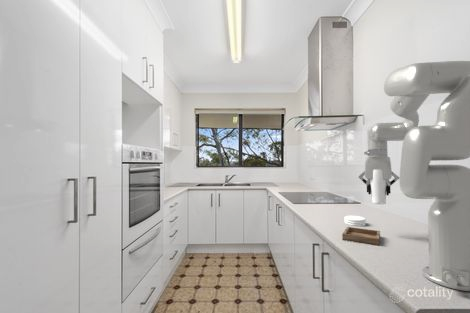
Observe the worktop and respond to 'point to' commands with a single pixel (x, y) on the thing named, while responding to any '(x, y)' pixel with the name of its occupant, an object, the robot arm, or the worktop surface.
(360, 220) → the white cup lid
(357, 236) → the tray
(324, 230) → the worktop surface
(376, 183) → the white tall cup
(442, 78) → the robot arm
